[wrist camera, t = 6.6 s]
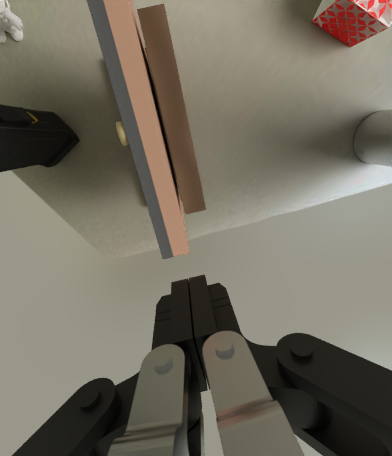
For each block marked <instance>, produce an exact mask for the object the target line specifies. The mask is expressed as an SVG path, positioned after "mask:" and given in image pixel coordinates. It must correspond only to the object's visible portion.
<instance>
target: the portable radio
mask: <svg viewBox="0 0 392 456" xmlns="http://www.w3.org/2000/svg"><path fill="white" fill-rule="evenodd" d="M78 142H79V139H78V137H77V135H76V134H75V133H74V132H73V130H72V129H71V128H70V127H69V126H68V125H67V124H66V123H65V122H64V121H62V120H61V119H60V118H59V117H58V116H57V115H56V114H55V113H53V112H45V111H35V110H29V109H23V108H19V107H11V106H6V105H0V172H3V171H7V170H13V169H18V168H23V167H28V166H33V165H42V166H45V167H51V166H55V165H57V164H58V163H59V162H60V161H61V160H62V159H63V158H64V157H65V156H66V155H67V154H68V153H69V152H70V150H71V149H72V148H73V147H74V146H75V145H76V144H77V143H78Z"/></svg>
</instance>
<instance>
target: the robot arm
mask: <svg viewBox="0 0 392 456" xmlns="http://www.w3.org/2000/svg"><path fill="white" fill-rule="evenodd" d="M354 150H355V154H356V155H357V157H358V158H359V159H360V160H361V161H363V162H365V163H369V164H377V165H384V166H391V167H392V110H385V111H379V112H375V113H373V114H371V115H370V116H368V117H367V118H366V119H365V120H364V121H363V122H362V123H361V124H360V126H359V127H358V129H357V131H356V133H355V137H354ZM171 286H172V287H171V294H170V295H166V296H162V297H161V299H160V300H159V302H158V304H157V305H156V316H155V324H154V333H153V342H152V351H151V352H150V353H149V354H148V355H147V356H146V357H145V358H144V360H143V362H142V365H141V368H140V371H139V372H138V373H137V374H135V375H134V376H132V377H131V378H129V379H127V380H125V381H123V382H121V383H119V384H117V385H116V386H115V385H114V383H113V382H112V381H111V380H110V379H107V378H98V379H94V380H92V381H90V382H88V383H87V384H85V385H83V386H82V387H81V388H80V389H78V390H77V391H76V392H75V393H74V394H73V395H72V396H71V397H70V398H69V399H68V400H67V401H66V402H65V403H64V404H63V405H62V406H61V407H60V408H59V409H58V410H57V411H56V412H55V413H54V414H53V415H52V416H51V417H50V418H49V419H48V420H47V421H46V422H45V423H44V424H43V425H42V426H41V427H40V428H39V429H38V430H37V431H36V432H35V433H34V434H33V435H32V436H31V437H30V438H29V439H28V440H27V441H26V442H25V443H24V444H23V445H22V446H21V447H20V448H19V449H18V450H17V451H16V452H15V453H14V454H13V455H12V456H204V455H205V453H204V424H203V423H204V422H203V413H202V402H201V393H200V392H203V391H207V383H208V386H209V389H211V394H212V398H213V403H214V407H215V412H216V416H217V418H216V420H217V425H218V430H219V434H220V439H221V444H222V449H223V453H224V456H304V454H303V451H302V449H301V447H300V445H299V443H298V441H297V439H296V437H295V435H297V436H298V437H299V438H300V439H302V440H303V441H304V442H306V443H307V444H308V445H310V446H311V447H312V448H314V449H315V450H316V451H317V452H319V453H320V454H321V455H323V456H392V371H391V370H389V369H387V368H384V367H382V366H380V365H377V364H375V363H373V362H370V361H368V360H366V359H364V358H362V357H359V356H357V355H355V354H352V353H350V352H348V351H346V350H343V349H341V348H339V347H336V346H334V345H332V344H330V343H327V342H325V341H323V340H321V339H318V338H316V337H314V336H311V335H308V334H303V333H293V334H289V335H286V336H284V337H283V338H281V339H280V340H279V342H278V343H277V346H263V345H258V344H255V343H252V342H250V341H249V340H247V339H246V338H245V337H244V336H243V335H242V333H241V331H240V328H239V325H238V322H237V319H236V316H235V314H234V311H233V308H232V305H231V302H230V299H229V296H228V293H227V290H226V288H225V287H224V286H222V285H221V284H220V283H216V284H212V285H208V286H207V282H206V278H205V275H200V276H197V277H192V278H189V280H188V279H184V280H180V281H175V282H172V285H171ZM206 379H207V382H206ZM294 434H295V435H294Z"/></svg>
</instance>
